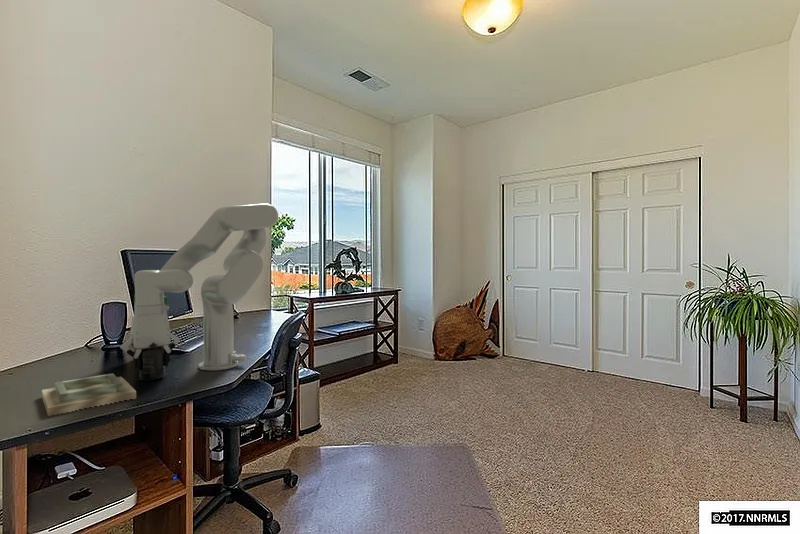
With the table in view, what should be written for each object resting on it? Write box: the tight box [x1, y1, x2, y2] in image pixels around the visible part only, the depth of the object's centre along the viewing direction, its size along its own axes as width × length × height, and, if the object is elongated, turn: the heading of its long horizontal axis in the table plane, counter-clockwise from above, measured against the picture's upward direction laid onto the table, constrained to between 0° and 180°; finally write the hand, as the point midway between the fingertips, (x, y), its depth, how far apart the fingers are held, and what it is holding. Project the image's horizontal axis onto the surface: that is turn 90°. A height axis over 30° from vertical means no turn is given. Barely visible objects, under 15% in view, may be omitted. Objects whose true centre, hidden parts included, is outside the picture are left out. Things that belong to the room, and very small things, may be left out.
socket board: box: [41, 372, 137, 417], centre depth 111 cm, size 18×18×4 cm
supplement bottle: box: [138, 342, 166, 382], centre depth 128 cm, size 7×7×12 cm
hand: (152, 367), depth 128 cm, fingers closed on supplement bottle, 6 cm apart
